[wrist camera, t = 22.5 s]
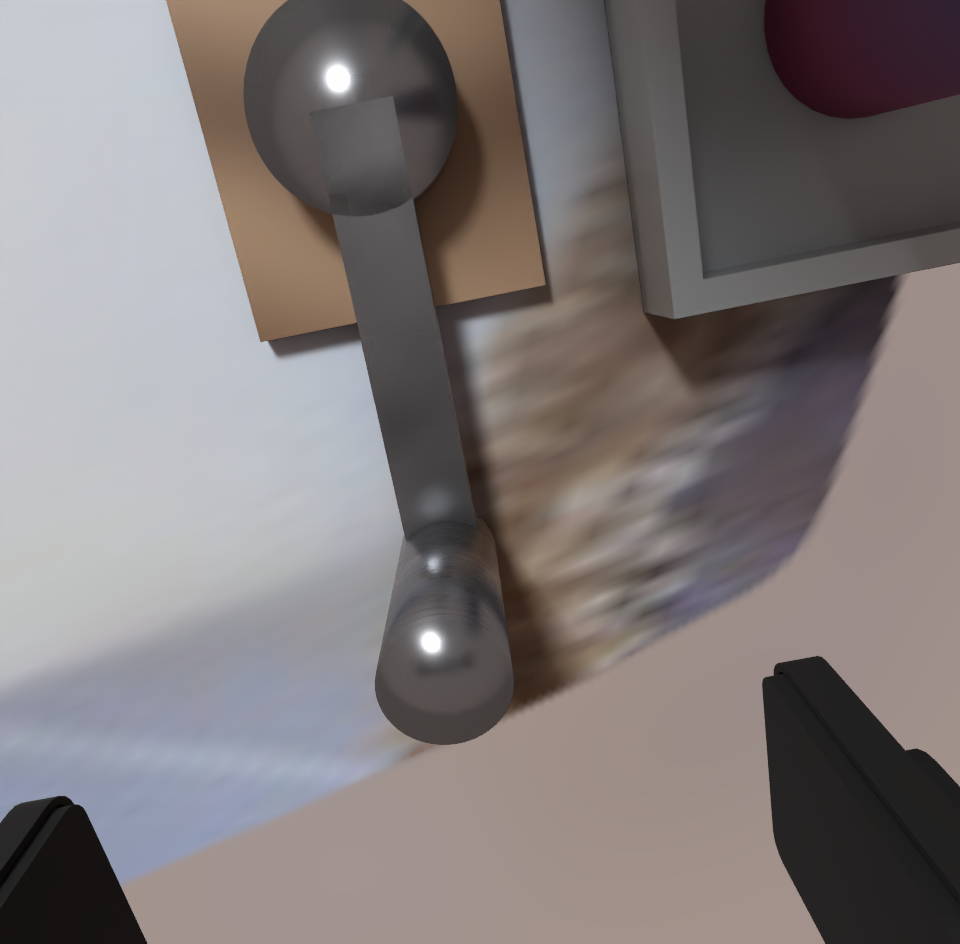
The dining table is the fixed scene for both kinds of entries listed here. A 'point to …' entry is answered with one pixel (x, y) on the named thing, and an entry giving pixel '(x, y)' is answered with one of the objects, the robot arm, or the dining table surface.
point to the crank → (393, 327)
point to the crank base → (311, 232)
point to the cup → (864, 53)
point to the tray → (765, 168)
